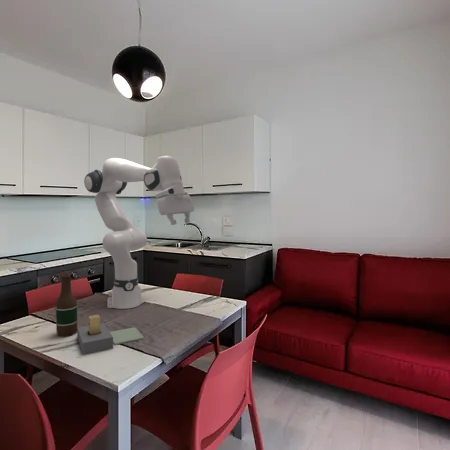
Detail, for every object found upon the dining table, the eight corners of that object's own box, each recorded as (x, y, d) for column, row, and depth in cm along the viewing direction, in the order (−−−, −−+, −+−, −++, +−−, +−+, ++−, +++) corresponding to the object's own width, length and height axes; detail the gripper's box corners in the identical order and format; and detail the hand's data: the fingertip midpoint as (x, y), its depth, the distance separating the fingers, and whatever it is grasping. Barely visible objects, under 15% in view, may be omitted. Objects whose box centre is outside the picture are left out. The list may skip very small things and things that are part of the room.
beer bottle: (63, 338, 121) (62, 277, 120) (52, 334, 126) (50, 275, 124) (81, 332, 128) (80, 273, 127) (70, 328, 132) (69, 271, 131)
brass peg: (88, 342, 119) (88, 316, 118) (98, 340, 121) (98, 314, 120) (90, 345, 116) (89, 318, 115) (100, 343, 118) (100, 317, 117)
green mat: (107, 333, 126) (107, 332, 126) (135, 328, 132) (135, 327, 132) (114, 345, 116) (114, 343, 116) (143, 338, 122) (143, 337, 122)
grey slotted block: (77, 337, 122) (77, 327, 122) (104, 332, 128) (104, 323, 127) (83, 354, 109) (82, 343, 109) (113, 347, 114) (112, 337, 114)
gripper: (183, 194, 145) (189, 223, 145) (152, 194, 128) (159, 227, 127) (193, 190, 142) (200, 220, 142) (163, 190, 124) (171, 224, 124)
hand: (181, 223), depth 134 cm, fingers open, 8 cm apart
